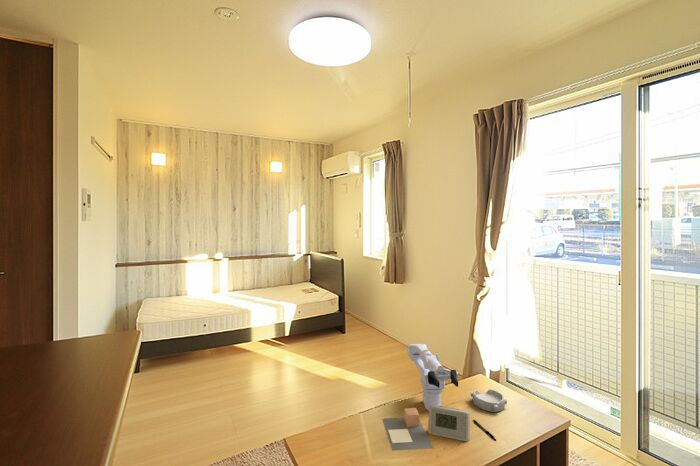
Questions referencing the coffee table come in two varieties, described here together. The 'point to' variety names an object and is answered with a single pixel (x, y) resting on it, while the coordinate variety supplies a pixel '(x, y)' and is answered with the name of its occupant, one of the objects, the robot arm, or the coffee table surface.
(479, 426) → the pen
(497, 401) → the dish
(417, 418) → the block
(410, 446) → the mat
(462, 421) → the digital clock
